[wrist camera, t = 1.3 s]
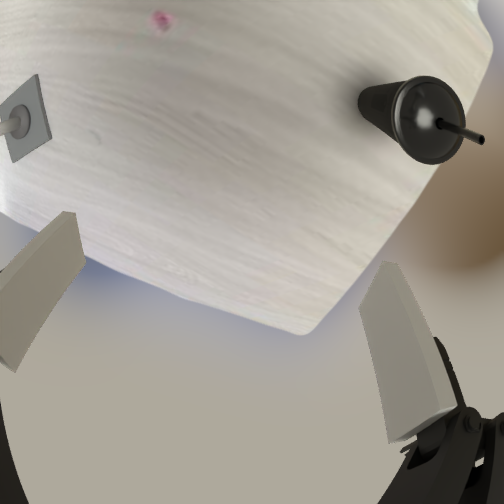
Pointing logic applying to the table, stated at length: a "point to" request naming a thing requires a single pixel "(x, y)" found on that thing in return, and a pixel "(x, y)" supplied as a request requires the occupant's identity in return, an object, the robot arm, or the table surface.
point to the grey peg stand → (24, 120)
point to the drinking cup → (419, 117)
